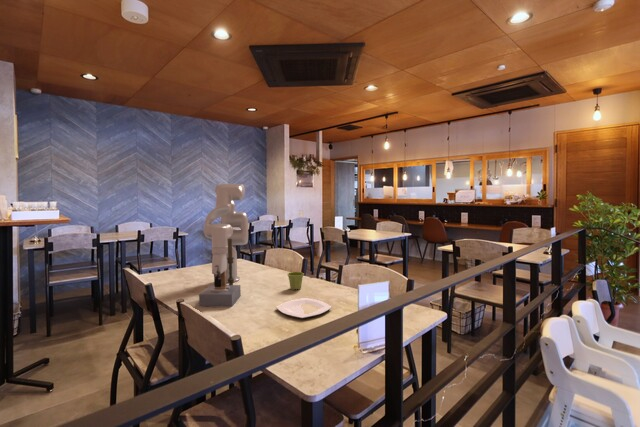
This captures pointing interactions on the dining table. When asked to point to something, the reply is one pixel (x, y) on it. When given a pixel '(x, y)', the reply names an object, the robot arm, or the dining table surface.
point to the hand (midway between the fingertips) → (220, 284)
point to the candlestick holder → (230, 261)
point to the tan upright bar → (222, 281)
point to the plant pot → (295, 279)
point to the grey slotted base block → (220, 296)
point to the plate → (297, 311)
